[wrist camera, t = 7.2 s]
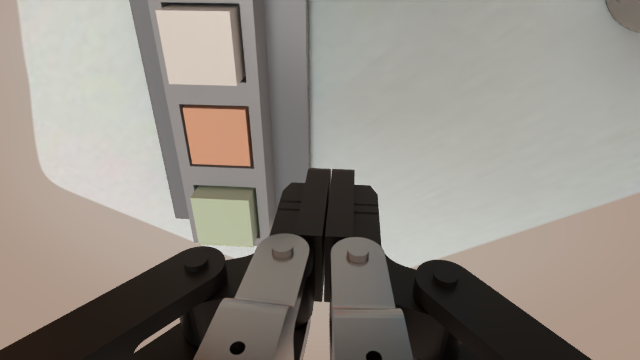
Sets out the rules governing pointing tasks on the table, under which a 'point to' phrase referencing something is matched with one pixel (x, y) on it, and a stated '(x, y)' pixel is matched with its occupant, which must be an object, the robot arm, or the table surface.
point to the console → (238, 104)
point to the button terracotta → (219, 134)
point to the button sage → (225, 215)
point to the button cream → (202, 44)
